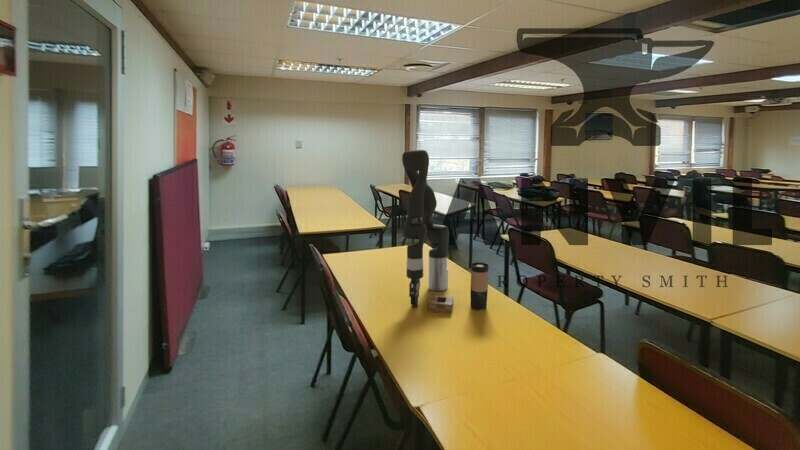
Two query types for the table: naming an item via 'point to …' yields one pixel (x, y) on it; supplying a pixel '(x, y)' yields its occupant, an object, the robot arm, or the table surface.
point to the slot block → (441, 304)
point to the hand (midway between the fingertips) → (414, 300)
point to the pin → (416, 299)
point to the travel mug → (479, 285)
